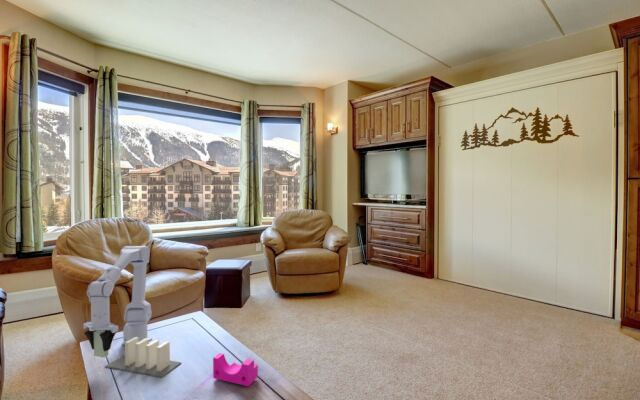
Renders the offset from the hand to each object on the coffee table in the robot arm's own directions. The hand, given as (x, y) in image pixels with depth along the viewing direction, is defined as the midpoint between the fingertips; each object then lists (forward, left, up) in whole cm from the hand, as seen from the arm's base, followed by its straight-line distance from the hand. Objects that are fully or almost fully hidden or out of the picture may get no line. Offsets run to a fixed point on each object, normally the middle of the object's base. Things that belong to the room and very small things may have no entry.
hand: (101, 349), depth 119 cm
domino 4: (+20, +9, -9) cm, 24 cm away
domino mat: (+11, +9, -9) cm, 17 cm away
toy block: (+50, +11, -10) cm, 52 cm away
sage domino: (0, 0, -2) cm, 2 cm away
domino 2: (+10, +9, -9) cm, 16 cm away
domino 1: (+5, +9, -9) cm, 14 cm away
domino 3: (+15, +9, -9) cm, 20 cm away
